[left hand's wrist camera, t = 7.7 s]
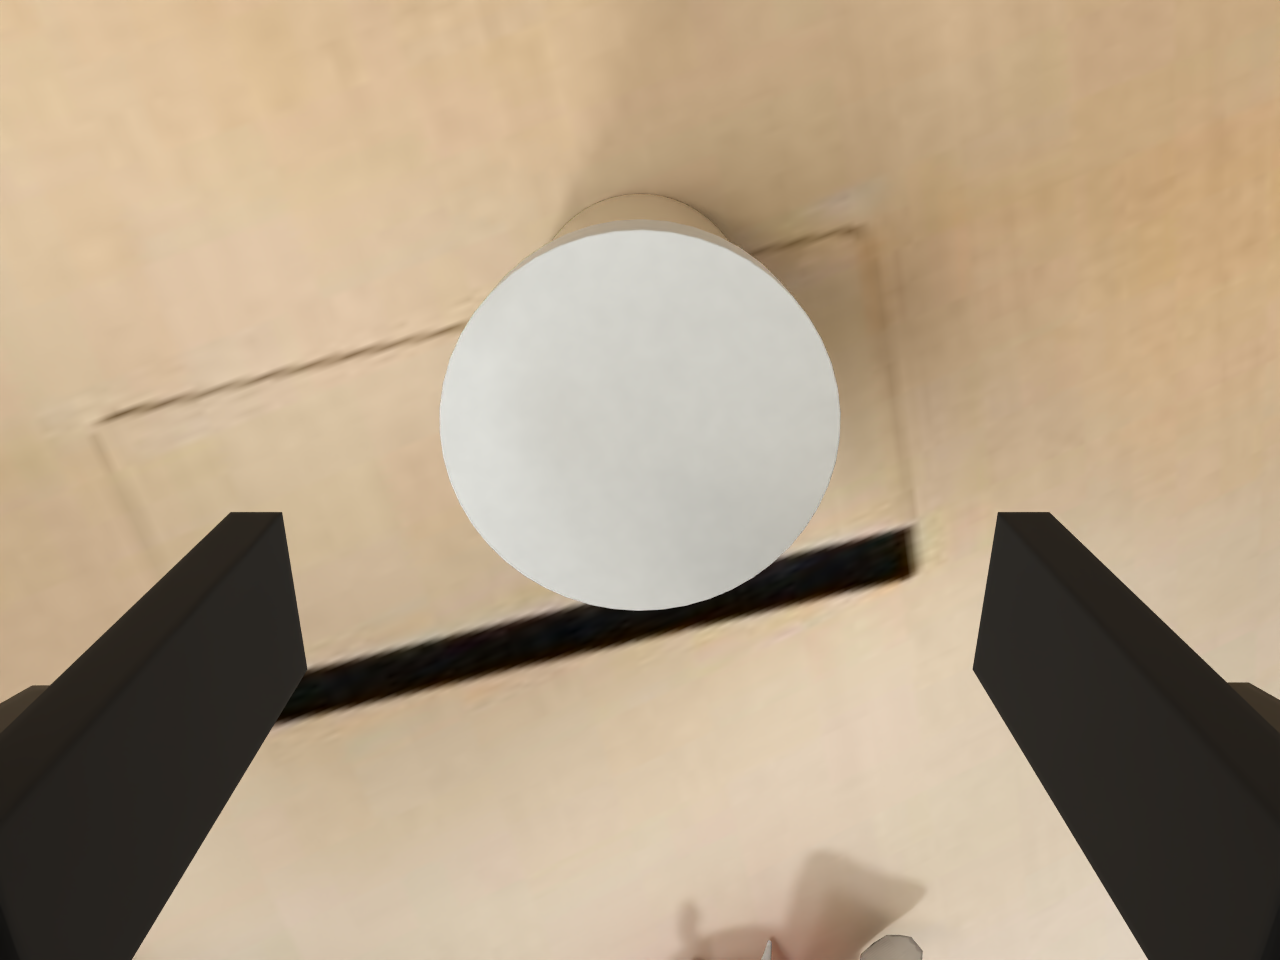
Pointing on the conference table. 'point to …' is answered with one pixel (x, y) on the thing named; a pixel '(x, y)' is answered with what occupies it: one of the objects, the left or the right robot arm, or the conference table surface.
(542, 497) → the lid
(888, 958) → the fish
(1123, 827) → the left robot arm
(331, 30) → the conference table surface
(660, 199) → the jar
